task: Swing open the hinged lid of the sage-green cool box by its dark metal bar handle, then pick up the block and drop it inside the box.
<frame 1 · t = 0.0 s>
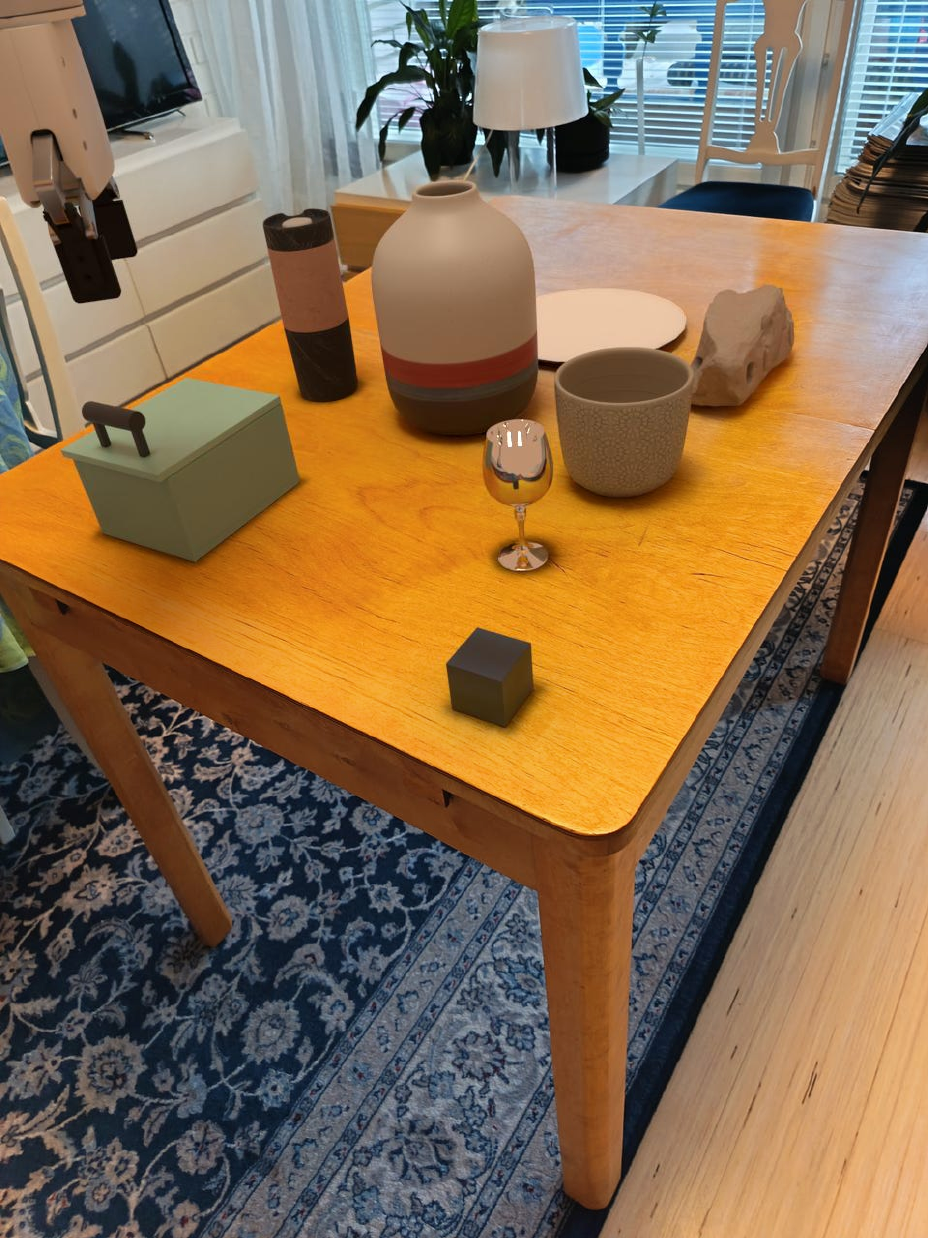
hand: (108, 277, 66), 26 cm above the table, tool pointing down, fingers open, 9 cm apart
wineglass: (523, 558, 80), on the table
planter: (621, 481, 88), on the table
vase: (465, 413, 103), on the table
plate: (587, 334, 118), on the table
travel mug: (329, 390, 111), on the table
decorative stone: (735, 384, 102), on the table
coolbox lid: (167, 404, 84), point 11 cm above the table, hinge at 0.0°
block: (493, 698, 66), on the table
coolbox: (203, 507, 91), on the table
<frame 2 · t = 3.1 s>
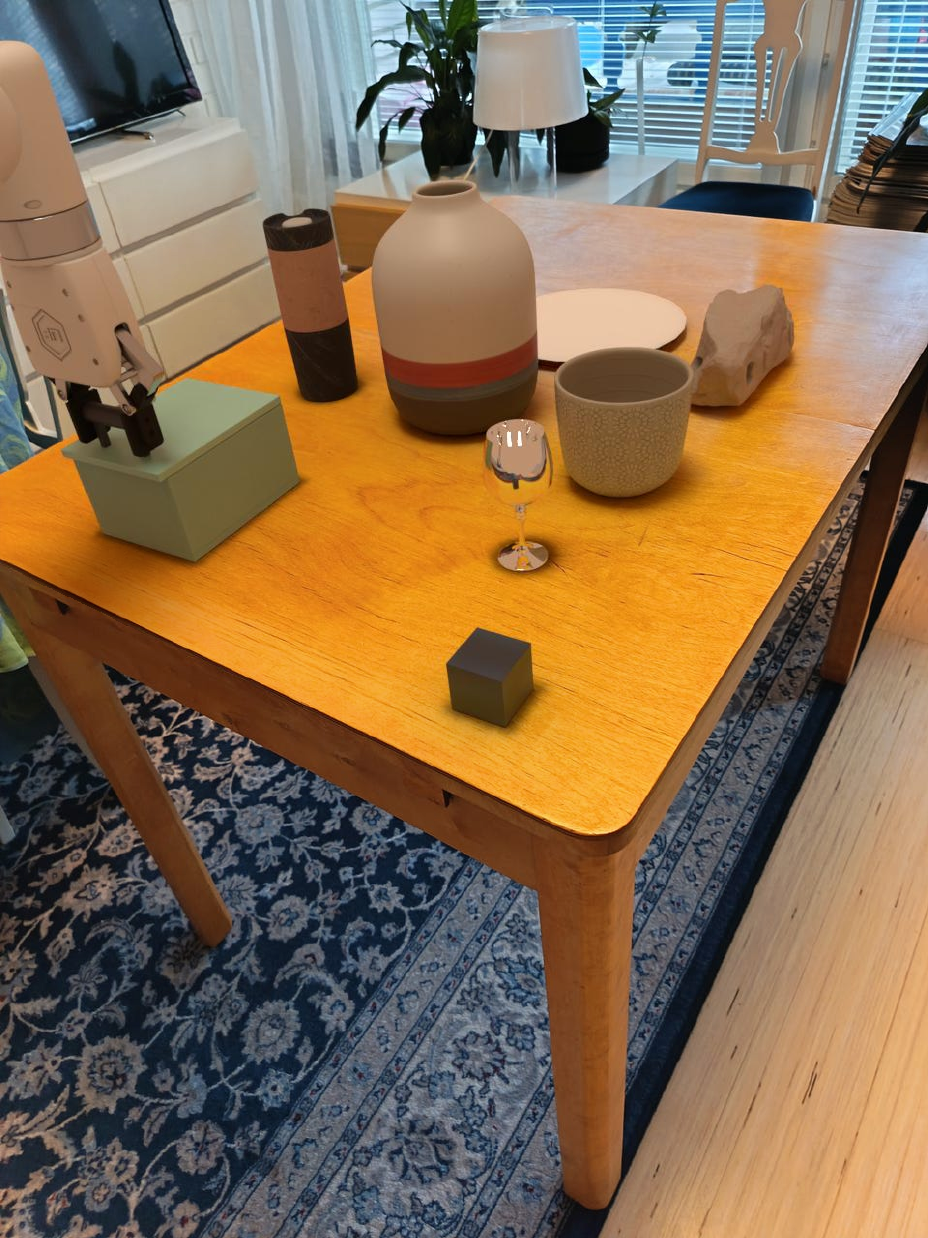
hand: (122, 441, 81), 11 cm above the table, tool pointing down, fingers closed on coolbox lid, 6 cm apart
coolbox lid: (167, 404, 84), point 11 cm above the table, hinge at 0.0°, touching gripper
everything else where it was.
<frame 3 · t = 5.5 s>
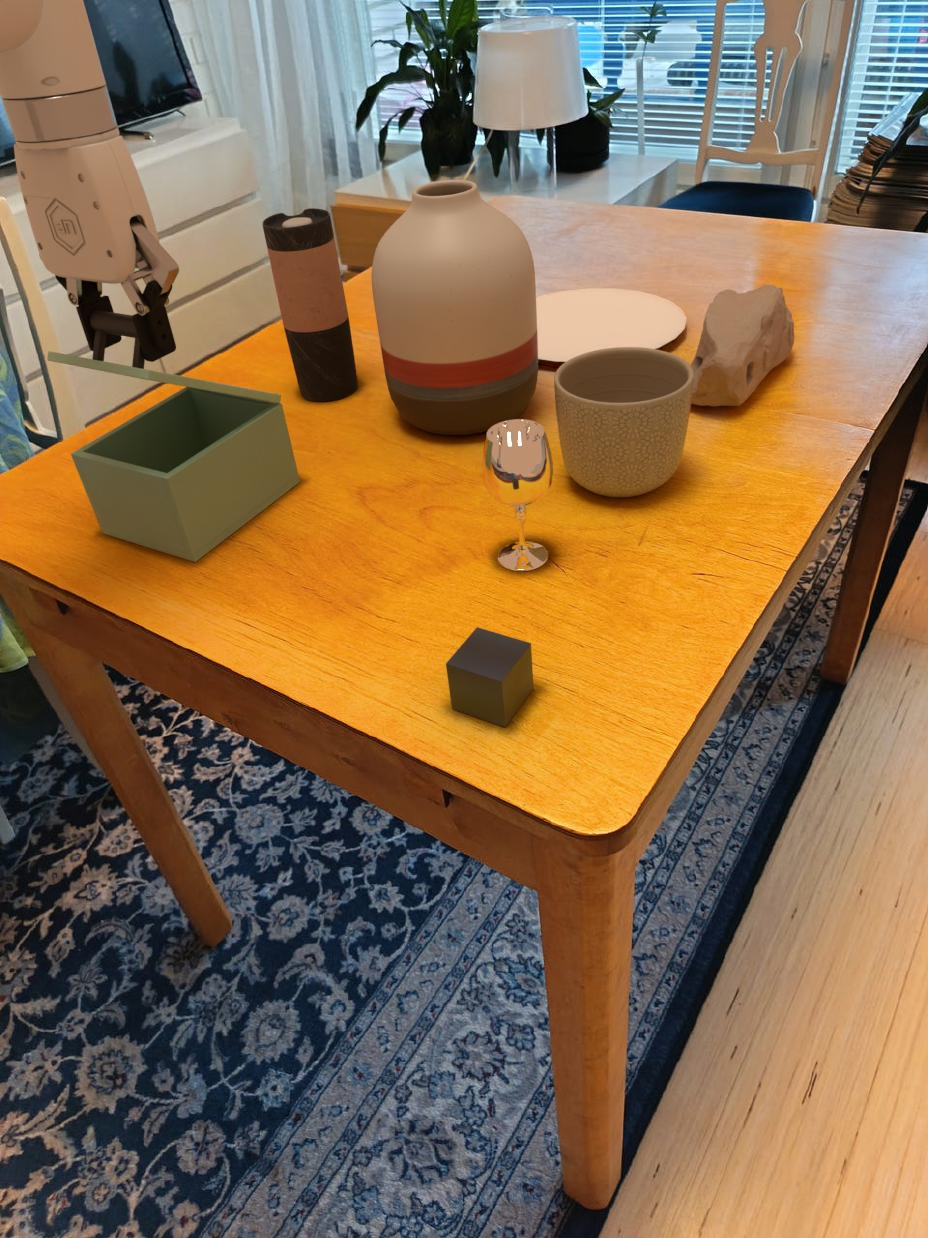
hand: (133, 349, 79), 17 cm above the table, tool pointing down, fingers closed on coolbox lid, 6 cm apart
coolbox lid: (172, 355, 83), point 15 cm above the table, hinge at 30.8°, touching gripper
everything else where it was.
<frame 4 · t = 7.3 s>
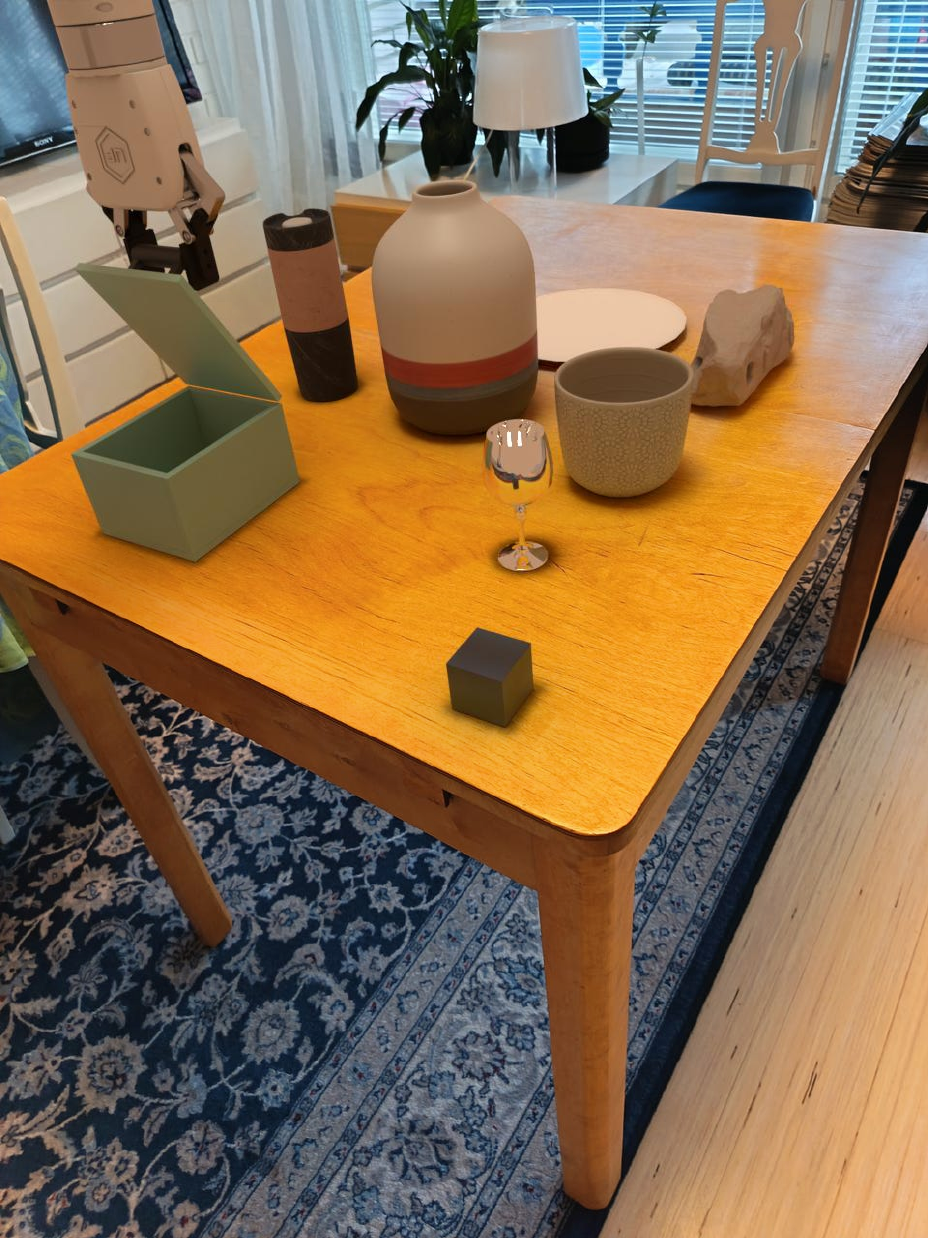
hand: (177, 280, 81), 21 cm above the table, tool pointing down, fingers closed on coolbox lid, 6 cm apart
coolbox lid: (194, 317, 84), point 17 cm above the table, hinge at 60.1°, touching gripper
everything else where it was.
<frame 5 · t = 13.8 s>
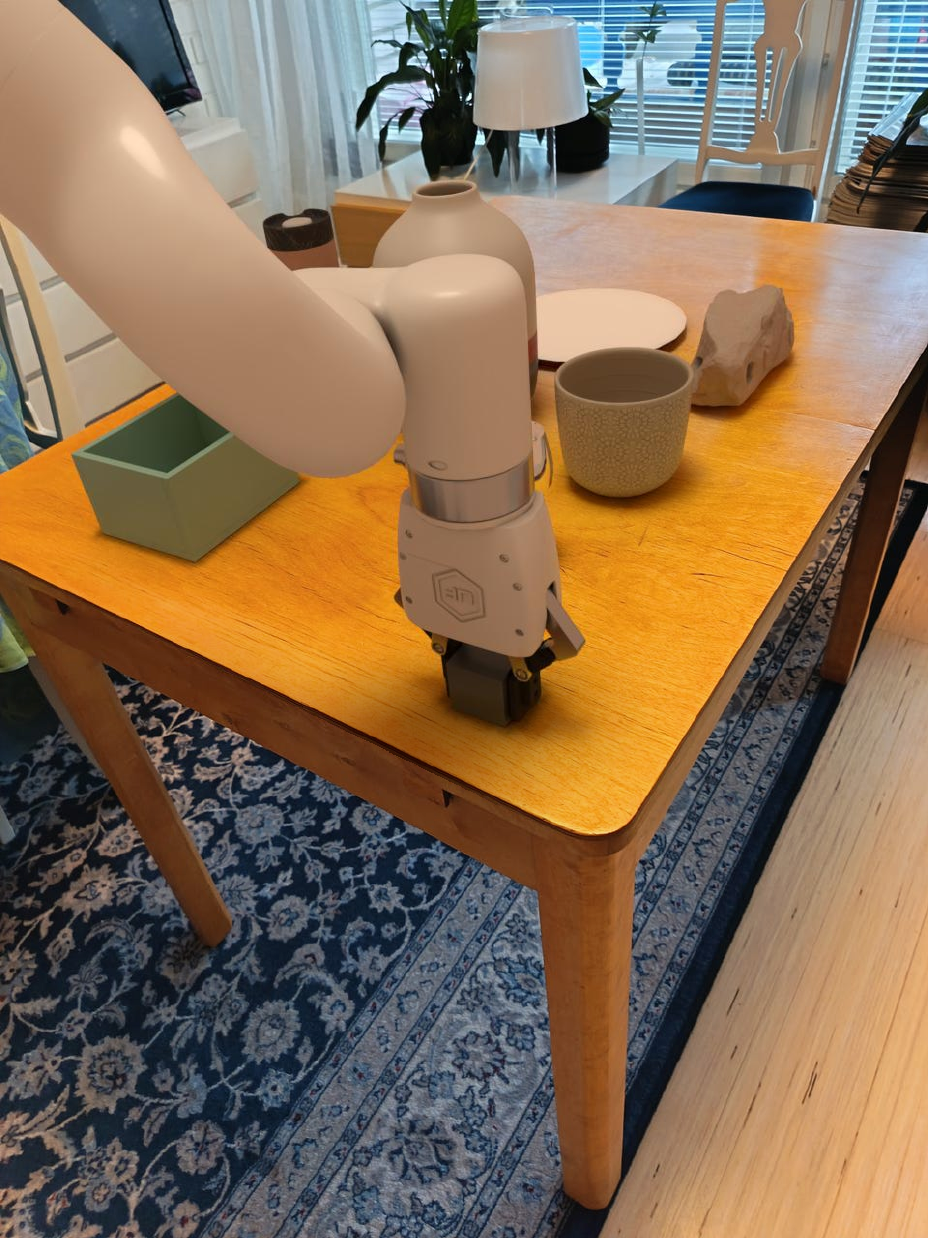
hand: (492, 695, 66), 0 cm above the table, tool pointing down, fingers closed on block, 4 cm apart
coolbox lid: (194, 317, 84), point 17 cm above the table, hinge at 60.5°
block: (493, 698, 66), on the table, touching gripper
everything else where it was.
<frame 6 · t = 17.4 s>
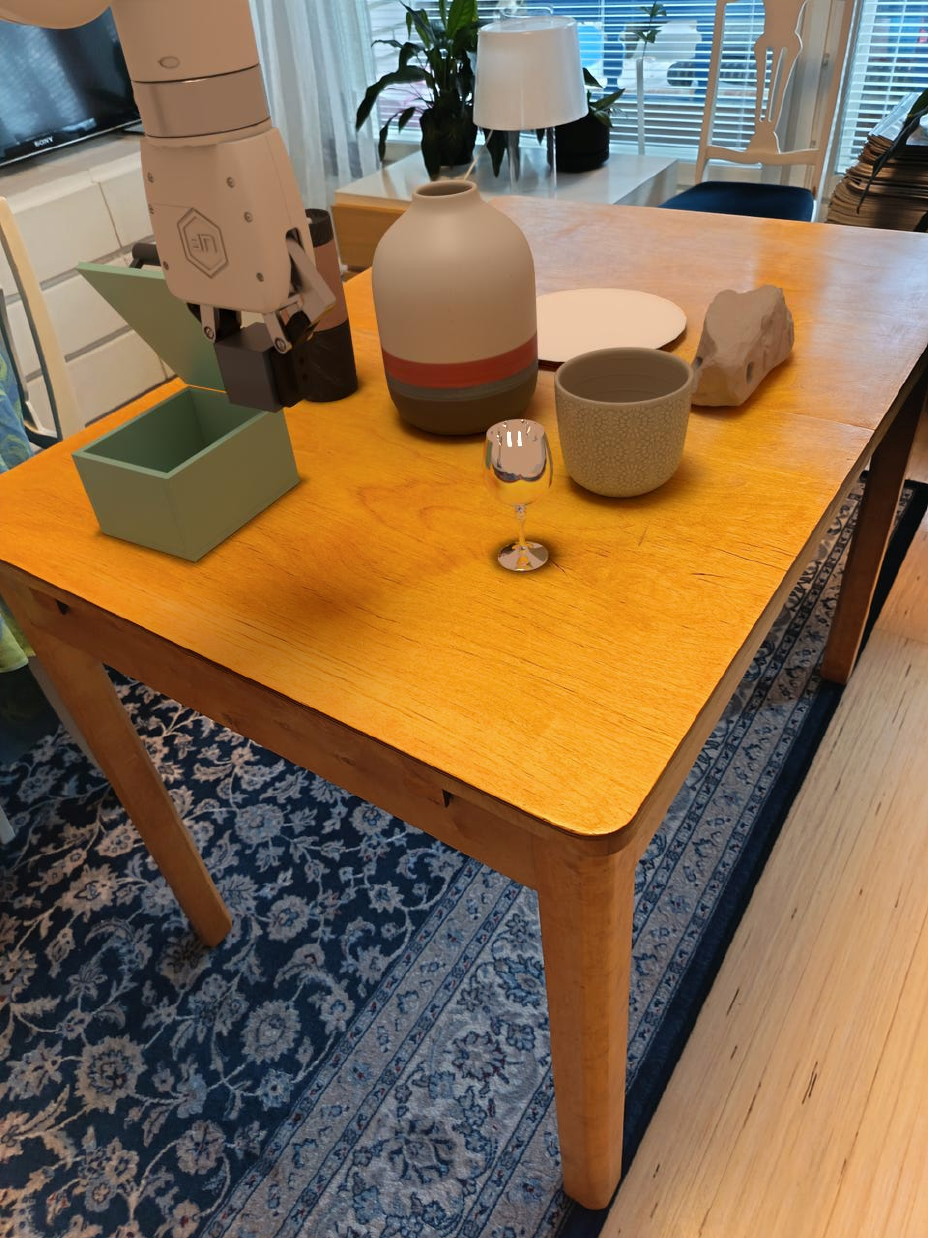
hand: (270, 391, 65), 19 cm above the table, tool pointing down, fingers closed on block, 4 cm apart
block: (272, 395, 65), point 19 cm above the table, touching gripper
everything else where it was.
when the fingers open (15 cm above the table, at t = 20.9 s): block drops 14 cm, resting on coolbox.
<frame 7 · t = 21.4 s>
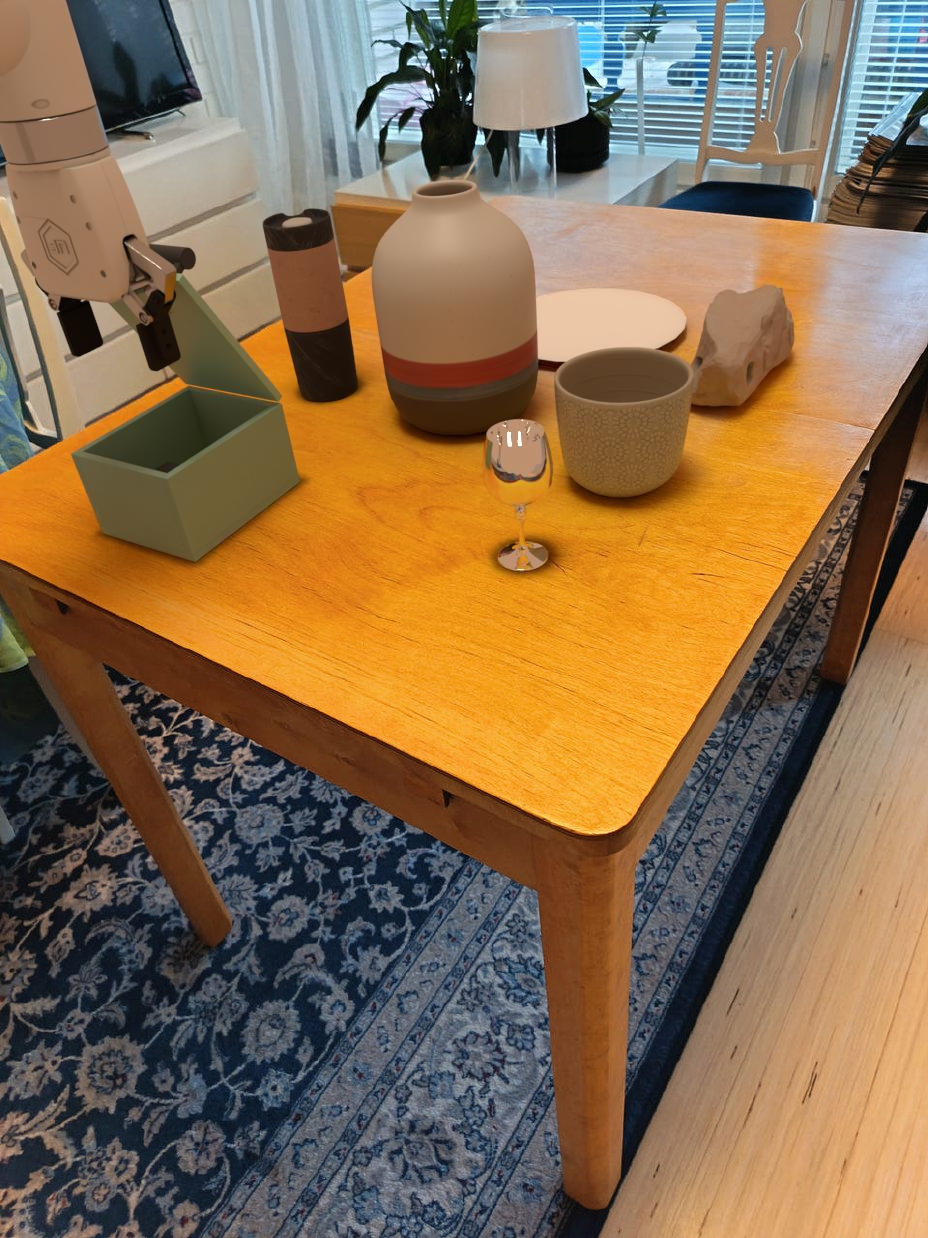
hand: (126, 357, 79), 17 cm above the table, tool pointing down, fingers open, 9 cm apart
block: (180, 515, 89), point 1 cm above the table, touching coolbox
everything else where it was.
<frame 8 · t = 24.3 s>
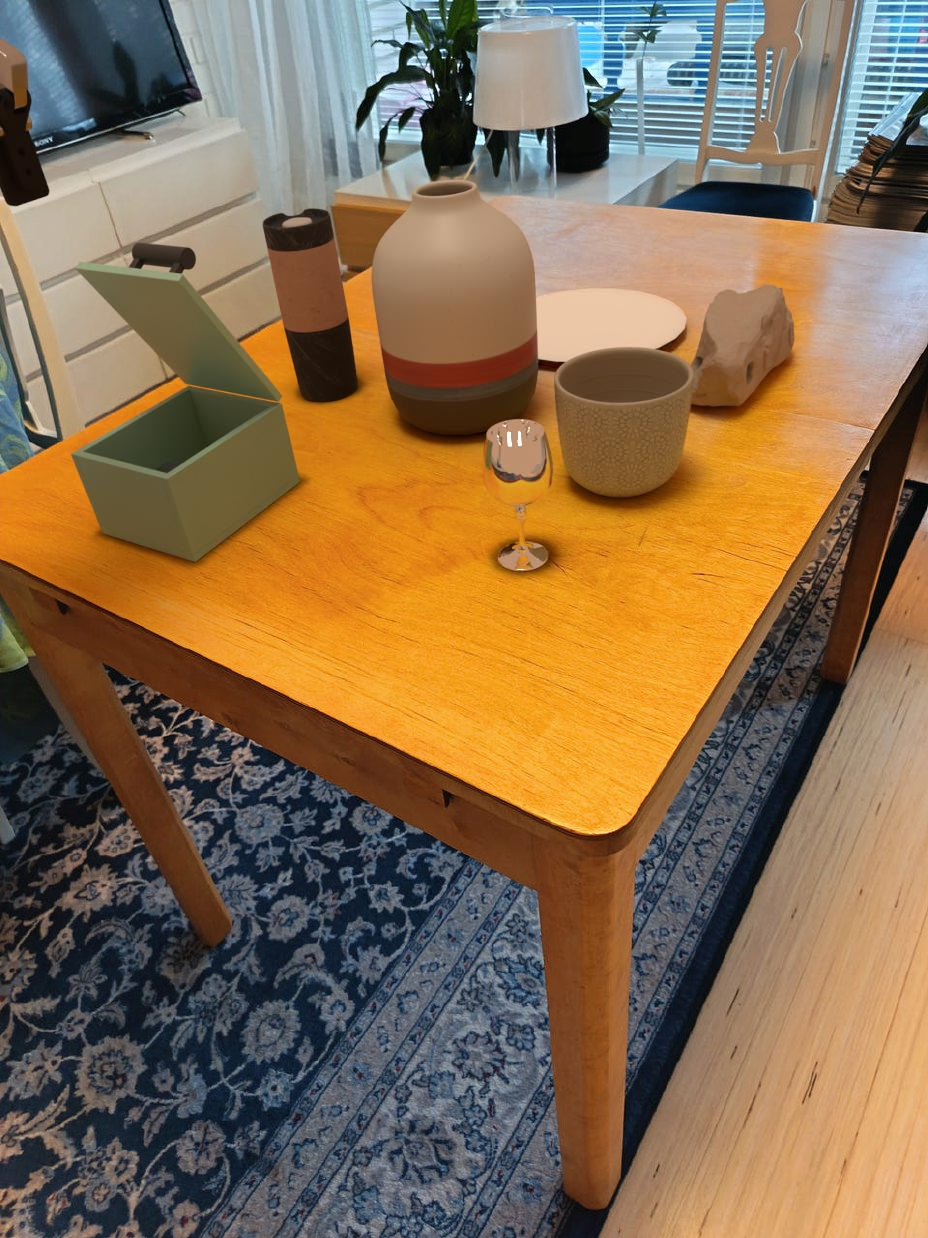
nothing on the table moved.
at the end: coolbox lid at +60° (first picture: +0°); block inside the target area in the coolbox (3.0 cm from its centre), point 0.8 cm above the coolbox's base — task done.
